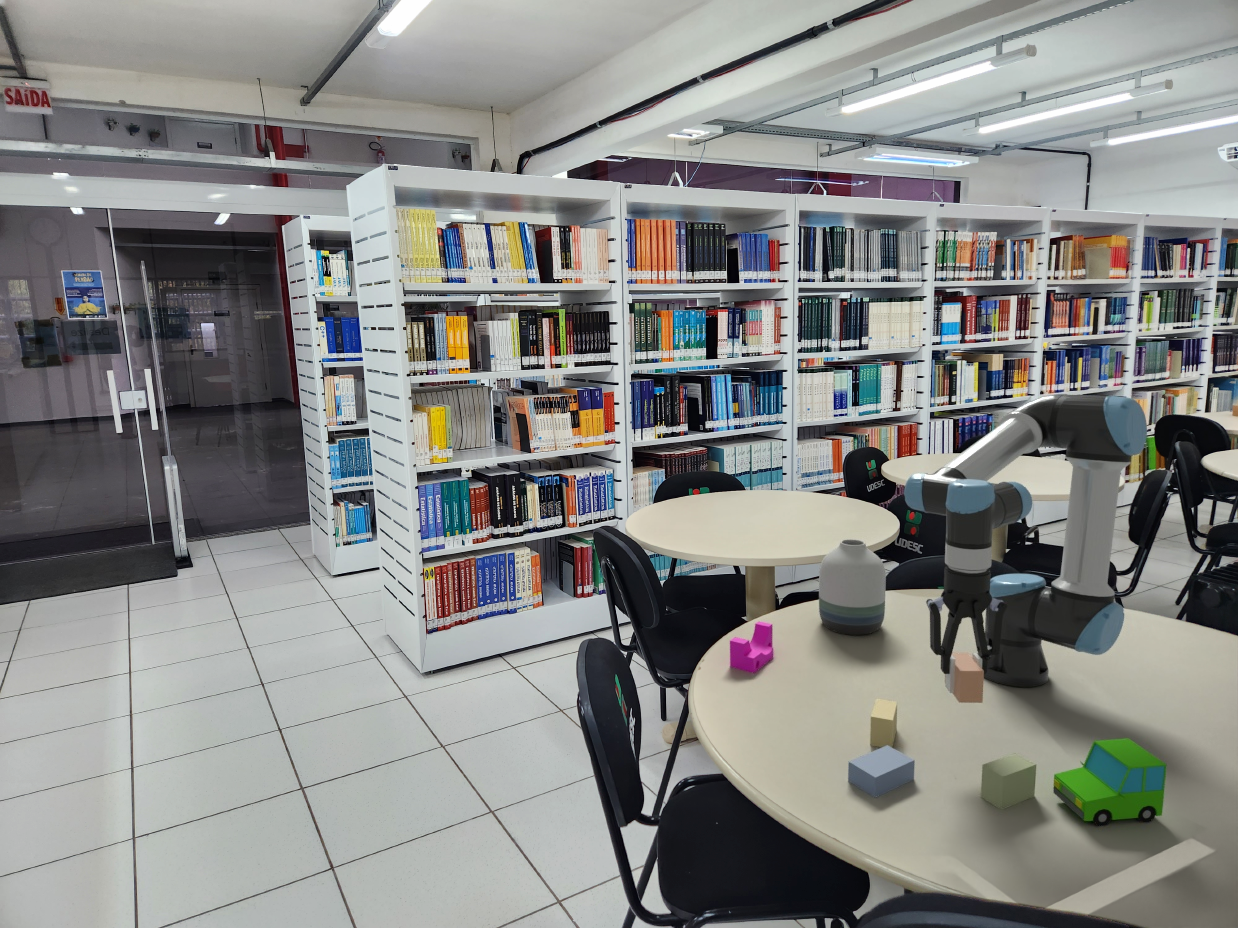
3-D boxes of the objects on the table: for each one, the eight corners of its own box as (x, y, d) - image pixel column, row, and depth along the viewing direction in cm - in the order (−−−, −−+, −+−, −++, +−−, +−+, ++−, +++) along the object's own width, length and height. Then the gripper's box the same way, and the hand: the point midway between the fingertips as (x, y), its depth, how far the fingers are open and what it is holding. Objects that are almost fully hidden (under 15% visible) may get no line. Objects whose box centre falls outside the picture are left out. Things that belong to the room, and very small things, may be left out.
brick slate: (886, 765, 141) (887, 744, 140) (913, 780, 136) (914, 759, 135) (848, 781, 136) (848, 761, 135) (874, 798, 131) (875, 777, 130)
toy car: (1046, 795, 130) (1049, 740, 129) (1119, 789, 131) (1123, 735, 130) (1087, 833, 120) (1091, 774, 118) (1166, 826, 121) (1171, 768, 120)
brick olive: (1013, 784, 133) (1015, 752, 132) (1034, 796, 130) (1036, 764, 129) (980, 796, 130) (982, 764, 129) (1001, 809, 127) (1002, 776, 126)
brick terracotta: (944, 682, 144) (945, 652, 143) (966, 682, 144) (967, 652, 143) (959, 702, 136) (960, 670, 135) (982, 702, 136) (983, 670, 135)
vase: (815, 616, 215) (816, 533, 211) (877, 617, 213) (879, 534, 209) (822, 640, 199) (823, 550, 195) (890, 641, 196) (892, 551, 192)
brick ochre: (875, 726, 155) (876, 698, 154) (896, 729, 153) (897, 701, 152) (870, 745, 148) (870, 716, 147) (892, 749, 146) (892, 720, 145)
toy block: (753, 676, 179) (753, 646, 178) (730, 670, 183) (729, 640, 182) (781, 654, 191) (781, 625, 190) (759, 649, 195) (758, 621, 193)
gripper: (1008, 560, 139) (1003, 680, 143) (912, 561, 141) (909, 680, 145) (1026, 572, 132) (1020, 699, 136) (924, 573, 133) (920, 698, 137)
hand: (962, 689), depth 140 cm, fingers closed on brick terracotta, 4 cm apart
